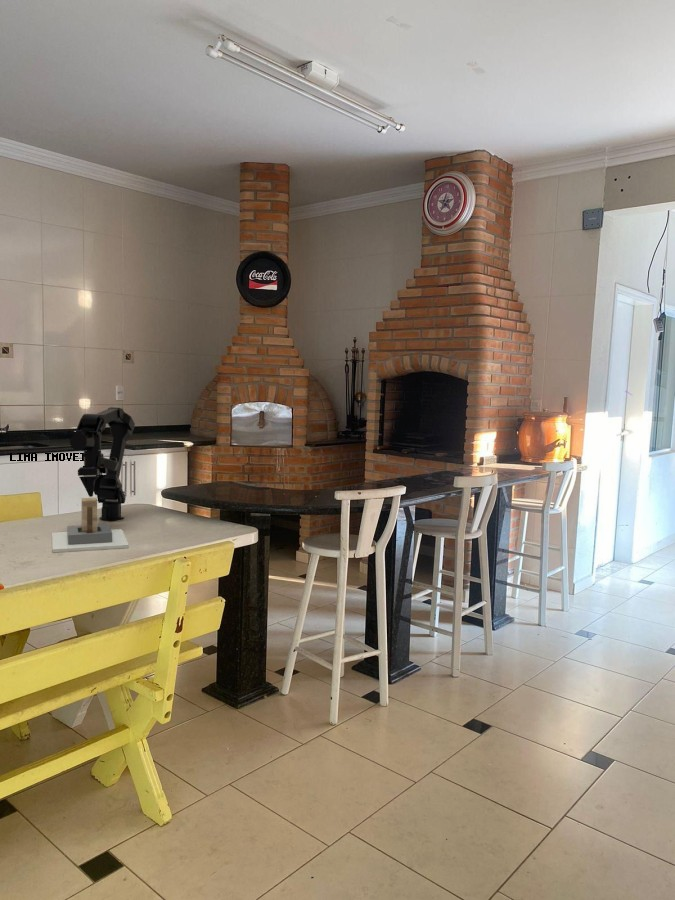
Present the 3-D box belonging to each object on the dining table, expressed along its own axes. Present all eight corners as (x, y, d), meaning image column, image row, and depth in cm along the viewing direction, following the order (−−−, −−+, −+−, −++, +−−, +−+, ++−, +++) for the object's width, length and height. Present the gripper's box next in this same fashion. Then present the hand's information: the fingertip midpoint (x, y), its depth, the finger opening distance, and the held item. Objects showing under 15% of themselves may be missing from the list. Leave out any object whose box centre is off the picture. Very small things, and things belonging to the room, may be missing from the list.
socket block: (52, 535, 225) (52, 523, 225) (121, 532, 234) (121, 520, 233) (52, 552, 205) (52, 539, 205) (128, 547, 214) (128, 535, 213)
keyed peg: (81, 537, 221) (81, 497, 219) (96, 536, 222) (96, 497, 221) (82, 541, 216) (82, 501, 214) (97, 540, 217) (97, 500, 216)
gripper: (111, 449, 227) (113, 496, 227) (121, 449, 245) (122, 493, 245) (76, 450, 225) (78, 498, 225) (89, 450, 244) (90, 494, 244)
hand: (93, 495), depth 235 cm, fingers open, 9 cm apart
